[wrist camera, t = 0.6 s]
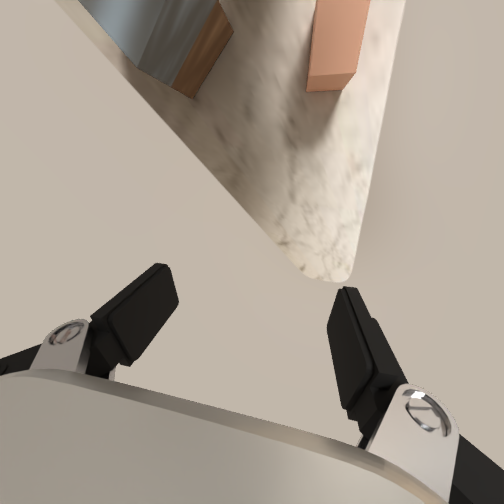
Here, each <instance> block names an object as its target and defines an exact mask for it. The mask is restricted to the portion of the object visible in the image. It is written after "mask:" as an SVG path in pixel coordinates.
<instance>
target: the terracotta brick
mask: <svg viewBox="0 0 504 504" xmlns="http://www.w3.org/2000/svg"><path fill="white" fill-rule="evenodd" d="M369 5H370V0H316V6H315V14H314V23H313V33H312V42H311V51H310V60H309V69H308V79H307V88H306V92H313V91H329V90H343V89H344V87H345V86H346V85H347V83H348V82H349V81H350V79H351V78H352V77H353V76H354V74H355V73H356V69H357V64H358V59H359V54H360V49H361V44H362V39H363V34H364V29H365V25H366V20H367V15H368V10H369Z"/></svg>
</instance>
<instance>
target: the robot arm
mask: <svg viewBox="0 0 504 504" xmlns="http://www.w3.org/2000/svg"><path fill="white" fill-rule="evenodd" d="M178 303H179V300H178V296H177V292H176V288H175V285H174V281H173V277H172V273H171V270H170V268H169V267H168V265H167V264H161V263H155V264H154V265H153V266H152V267H150V268H149V269H148V270H146V271H145V272H144V273H143V274H141V275H140V276H139V277H138V278H137V279H135V280H134V281H133V282H132V283H130V284H129V285H128V286H127V287H125V288H124V289H123V290H122V291H120V292H119V293H118V294H117V295H116V296H114V298H112V299H111V300H109V301H108V302H107V303H106V304H104V305H103V306H102V307H101V308H100V309H98V310H97V311H96V312H95V313H93V314H92V315H91V316H90V317H91V319H92V321H91V322H90V323H89V322H88V321H87V320H85V319H76V320H72V321H70V322H67V323H64V324H63V325H61V326H59V327H57V328H56V329H54V330H53V331H52V332H50V333H49V334H48V335H47V336H46V338H45V339H44V341H43V343H42V344H40V345H37V346H34V347H31V348H29V349H26V350H23V351H21V352H18V353H15V354H12V355H10V356H7V357H4V358H2V359H0V504H504V470H503V469H501V468H500V467H499V466H498V465H497V464H495V463H494V462H493V461H492V460H491V459H489V458H488V457H487V456H486V455H484V454H483V453H482V452H481V451H480V450H478V449H477V448H476V447H475V446H474V445H472V444H471V443H470V442H469V441H468V440H466V439H465V438H464V437H463V436H461V435H460V434H459V429H458V426H457V424H456V421H455V419H454V417H453V416H452V415H451V413H450V411H449V410H448V409H447V408H446V407H445V406H444V405H443V403H442V402H441V401H440V400H438V399H437V398H436V397H435V396H434V395H432V394H431V393H430V392H428V391H426V390H425V389H423V388H421V387H419V386H416V385H413V384H409V383H408V382H407V379H406V378H405V376H404V374H403V371H402V369H401V367H400V366H399V364H398V362H397V360H396V358H395V356H394V354H393V352H392V350H391V348H390V346H389V344H388V342H387V340H386V338H385V336H384V334H383V332H382V330H381V328H380V326H379V324H378V322H377V320H376V319H374V318H371V316H370V314H369V312H368V310H367V308H366V306H365V303H364V301H363V299H362V297H361V295H360V293H359V291H358V289H357V288H354V287H346V286H344V287H343V288H342V289H339V290H338V292H337V295H336V299H335V302H334V305H333V308H332V311H331V314H330V317H329V320H328V324H327V334H328V338H329V344H330V349H331V355H332V359H333V365H334V370H335V375H336V380H337V386H338V391H339V396H340V401H341V406H342V408H343V409H346V410H347V415H348V419H350V420H354V421H357V422H358V426H359V430H360V432H361V433H362V435H361V437H360V439H359V441H358V443H357V445H356V447H354V446H352V445H349V444H346V443H343V442H340V441H337V440H334V439H331V438H327V437H323V436H320V435H317V434H313V433H310V432H306V431H302V430H299V429H296V428H292V427H288V426H285V425H281V424H277V423H273V422H270V421H266V420H262V419H258V418H254V417H251V416H246V415H243V414H239V413H236V412H231V411H227V410H224V409H220V408H216V407H213V406H209V405H205V404H201V403H197V402H194V401H190V400H186V399H182V398H178V397H174V396H170V395H166V394H163V393H158V392H155V391H151V390H147V389H143V388H139V387H135V386H131V385H127V384H123V383H119V382H115V381H114V377H115V368H116V365H117V364H118V363H120V364H121V365H124V366H129V367H130V366H131V365H132V363H133V362H134V361H135V360H137V359H138V358H139V357H140V356H141V355H142V353H143V352H144V350H145V349H146V348H147V346H148V345H149V344H150V343H151V341H152V340H153V338H154V337H155V336H156V334H157V333H158V332H159V330H160V329H161V328H162V326H163V325H164V324H165V322H166V321H167V320H168V318H169V317H170V316H171V314H172V313H173V312H174V310H175V309H176V308H177V306H178Z"/></svg>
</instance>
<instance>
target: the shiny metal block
mask: <svg viewBox="0 0 504 504" xmlns="http://www.w3.org/2000/svg"><path fill="white" fill-rule="evenodd" d="M78 1H79V2H80V3H81V4H82V5H83V6H84V8H85V9H86V10H87V11H88V12H89V13H90V14H91V16H92V17H93V18H94V19H95V20H96V21H97V22H98V24H99V25H100V26H101V27H102V28H103V29H104V31H105V32H106V33H107V34H108V35H109V36H110V37H111V39H112V40H113V41H114V42H115V43H116V44H117V45H118V47H119V48H120V49H121V50H122V51H123V52H124V54H125V55H126V56H127V57H128V58H129V59H130V60H131V62H132V63H133V64H134V65H135V66H136V67H137V68H138V69H140V70H142V71H143V72H145V73H147V74H149V75H151V76H152V77H154V78H156V79H158V80H159V81H161V82H163V83H165V84H167V85H168V86H170V87H172V88H174V89H176V90H177V91H179V92H181V93H183V94H184V95H186V96H188V97H190V98H192V99H193V97H194V96H195V94H196V92H197V91H198V89H199V87H200V86H201V84H202V83H203V81H204V79H205V78H206V76H207V74H208V73H209V71H210V69H211V68H212V66H213V65H214V63H215V61H216V60H217V58H218V56H219V55H220V53H221V51H222V50H223V48H224V47H225V45H226V43H227V42H228V40H229V38H230V37H231V35H232V34H233V30H232V28H231V25H230V23H229V21H228V19H227V17H226V15H225V13H224V11H223V9H222V7H221V4H220V2H219V0H78Z"/></svg>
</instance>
